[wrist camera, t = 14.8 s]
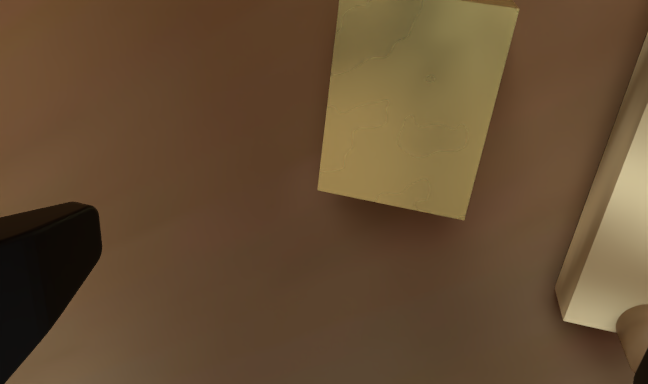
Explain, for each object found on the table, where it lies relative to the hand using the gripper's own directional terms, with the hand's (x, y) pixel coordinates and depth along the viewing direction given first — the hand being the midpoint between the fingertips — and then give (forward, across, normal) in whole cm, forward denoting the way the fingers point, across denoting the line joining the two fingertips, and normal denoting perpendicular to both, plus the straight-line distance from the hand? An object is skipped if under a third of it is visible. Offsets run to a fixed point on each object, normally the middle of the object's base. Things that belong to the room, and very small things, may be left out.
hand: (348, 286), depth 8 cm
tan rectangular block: (+12, 0, -1) cm, 12 cm away
